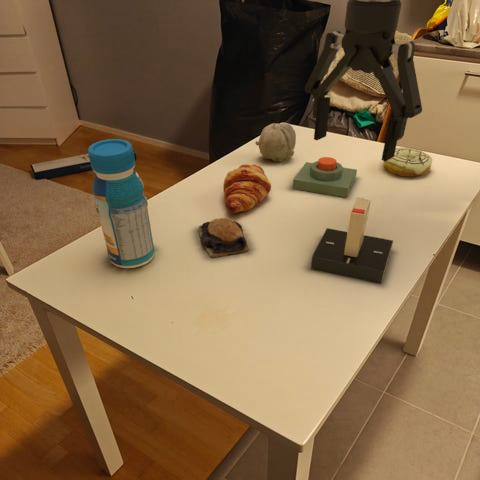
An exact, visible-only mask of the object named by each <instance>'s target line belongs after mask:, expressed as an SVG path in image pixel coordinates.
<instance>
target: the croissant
mask: <svg viewBox="0 0 480 480" xmlns="http://www.w3.org/2000/svg"><path fill="white" fill-rule="evenodd" d="M222 185H223V195H224V201H225V207H226V208H227V209H228V211H230V212H231V213H233V214H234V213H235V214H237V213H239V212H247V211H250V210H252V209H253V208H254V207H255V206H257V205H259V204H260V203H261V202H262V201H263V200H264V198H265V197H267V196H268V195H269V194H270V192H271V190H272V183H271V181H270V180H269V178H268V177H267V175H266V174H265V170H264V169H263V168H262V166H261V165H257V164H253V163H252V164H242V165H240V166H238V167H237V168H235V169H233V170H230V171H227V173H226V176H225V177H224V181H223V183H222Z"/></svg>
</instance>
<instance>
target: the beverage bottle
mask: <svg viewBox="0 0 480 480" xmlns="http://www.w3.org/2000/svg"><path fill="white" fill-rule="evenodd" d="M87 154H88V159H89V163H90V167H91V169H92V171H93V172H94V174H95V175H94V178H93V182H92V195H93V197H94V198H95V203H94V205H95V211H96V213H97V215H98V219H99V222H100V227H101V230H102V234H103V238H104V242H105V246H106V250H107V256H108V259H109V262H110V263H111V264H113V266H116V267H118V268H121V269H134V268H135V269H136V268H139V267H142V266H144V265H146V264H148V263H149V262H151V260H152V259H153V258H154V257H155V253H156V251H155V245H154V240H153V234H152V228H151V220H150V214H149V209H148V206H149V204H148V203H149V202H148V197H147V196H146V195H147V194H145V193H144V191H145V184H144V181H143V180H142V178H141V176H140V175H139V174H138V172H137V171H136V170H135V169H134V168H135V167H136V157H135V151H134V147H133V144H132V143H131V142H129V141H128V140H125V139H119V138H109V139H104V140H100V141H97V142H93V143H92V144H91V145H90V146H88V149H87Z"/></svg>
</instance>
